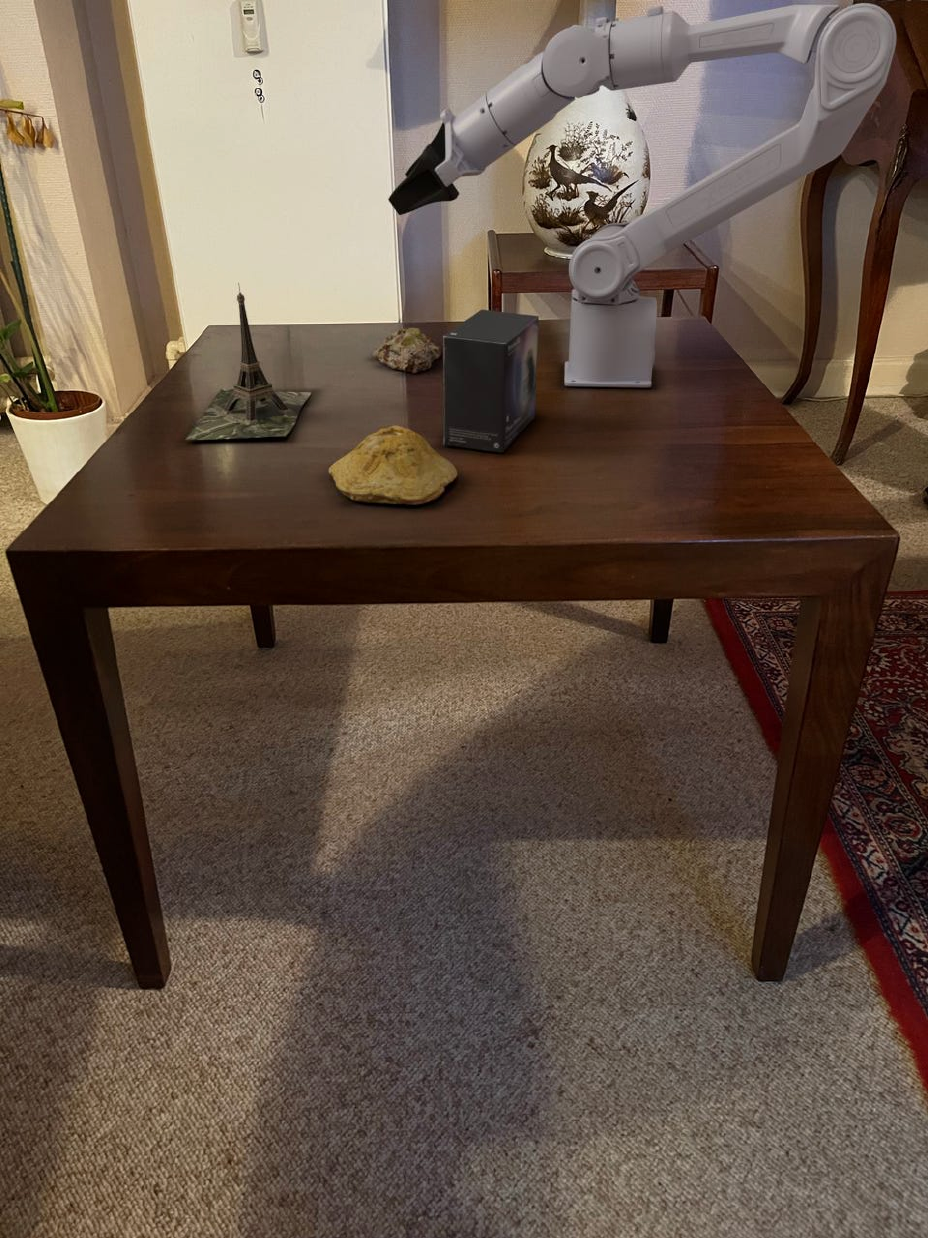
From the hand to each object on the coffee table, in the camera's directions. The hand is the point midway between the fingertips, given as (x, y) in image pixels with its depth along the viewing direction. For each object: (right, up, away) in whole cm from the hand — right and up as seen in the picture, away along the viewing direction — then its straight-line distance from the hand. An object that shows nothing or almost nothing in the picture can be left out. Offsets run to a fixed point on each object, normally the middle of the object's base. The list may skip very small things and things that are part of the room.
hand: (402, 193), depth 102 cm
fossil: (0, -35, -21) cm, 41 cm away
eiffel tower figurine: (-15, -26, -6) cm, 31 cm away
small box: (+9, -29, -11) cm, 32 cm away
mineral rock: (0, -16, +10) cm, 19 cm away
